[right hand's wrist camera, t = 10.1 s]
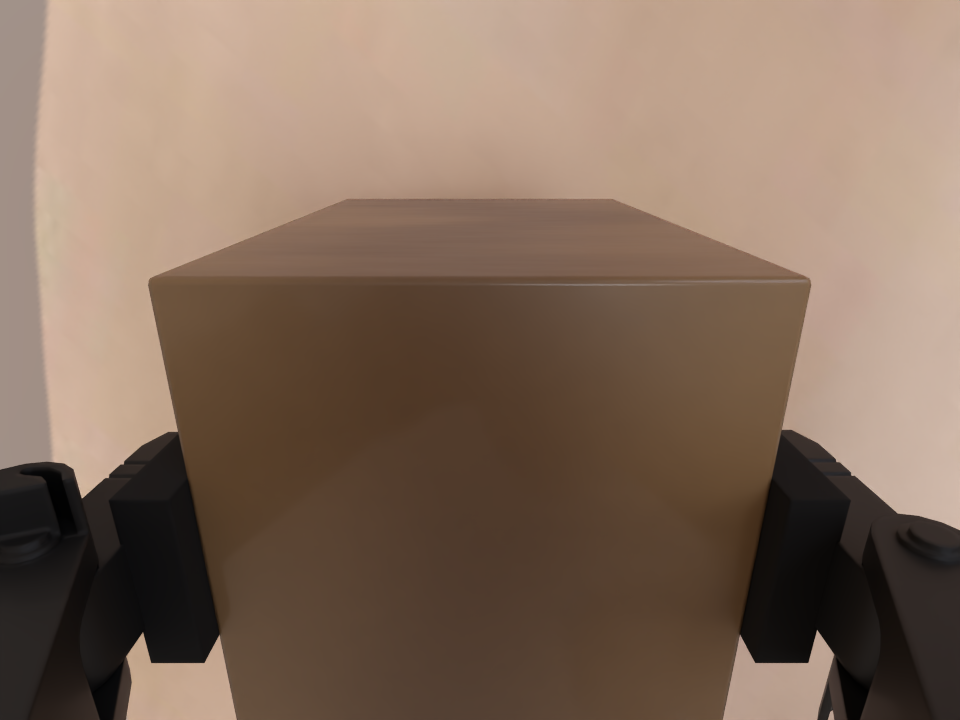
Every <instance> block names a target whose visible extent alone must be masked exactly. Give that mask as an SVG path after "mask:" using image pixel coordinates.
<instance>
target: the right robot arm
mask: <svg viewBox="0 0 960 720" xmlns="http://www.w3.org/2000/svg"><path fill="white" fill-rule="evenodd" d="M817 630H818V631H819V633H820V634H821V636H822V637H823V639H824V640H825V642H826V643H827V644H828V646H829V647H830V649H831V650H832V652H833V653H834V658H833V661H832V665H831V668H830V672H829V675H828V679H827V682H826V686H825V689H824V693H823V697H822V700H821V704H820V707H819V712H818V719H817V720H828V717H829V714H830V712H831V711H832V710H833V713H834V719H835V720H960V530H958V529H956V528H953V527H951V526H949V525H946V524H944V523H942V522H938V521H935V520H931V519H927V518H924V517H920V516H914V515H905V514H897V513H896V512H895V511H894V510H893V509H892V508H891V507H889V506H888V505H887V504H886V503H885V502H884V501H883V500H882V499H880V498H879V497H878V496H877V495H876V494H875V493H874V492H872V491H871V490H870V489H869V488H868V487H867V486H866V485H865V484H863V483H862V482H861V481H860V480H859V479H858V478H857V477H855V476H851V472H850V471H849V470H847V469H846V468H845V467H844V466H843V465H842V464H841V463H840V462H836V459H835V458H834V457H833V456H832V455H830V454H829V453H828V452H827V451H826V450H825V449H824V448H823V447H821V446H820V445H819V444H818V443H816V442H814V441H812V440H810V439H808V438H806V437H804V436H802V435H800V434H798V433H796V432H794V431H793V430H781V435H780V440H779V445H778V450H777V455H776V460H775V465H774V469H773V474H772V479H771V484H770V489H769V494H768V499H767V504H766V509H765V514H764V519H763V523H762V528H761V533H760V538H759V543H758V548H757V553H756V558H755V563H754V568H753V573H752V578H751V582H750V587H749V592H748V597H747V602H746V607H745V612H744V617H743V622H742V627H741V632H740V635H741V637H742V639H743V641H744V643H745V645H746V646H747V648H748V650H749V652H750V654H751V656H752V658H753V660H754V661H755V663H808V662H809V658H810V654H811V651H812V647H813V643H814V639H815V635H816V632H817ZM142 633H144V637H145V641H146V645H147V649H148V652H149V656H150V660H151V663H205V661H206V659H207V657H208V655H209V653H210V651H211V649H212V648H213V646H214V644H215V642H216V640H217V638H218V636H219V629H218V624H217V619H216V614H215V610H214V605H213V600H212V595H211V590H210V585H209V580H208V575H207V570H206V565H205V561H204V556H203V551H202V546H201V541H200V536H199V531H198V526H197V521H196V516H195V512H194V507H193V502H192V497H191V492H190V487H189V482H188V477H187V472H186V467H185V463H184V458H183V453H182V448H181V443H180V438H179V433H178V432H168V433H166V434H164V435H162V436H160V437H158V438H156V439H154V440H152V441H150V442H148V443H146V444H144V445H142V446H141V447H140V448H139V449H138V450H137V451H135V452H134V453H133V454H132V455H131V456H130V457H129V458H128V459H126V460H125V461H124V465H120V466H119V467H117V468H116V469H115V470H114V471H113V472H112V473H111V474H110V475H109V478H105V479H104V480H103V481H102V482H101V483H99V484H98V485H97V486H96V487H95V488H94V489H93V490H91V491H90V492H89V493H88V494H87V495H86V496H85V497H84V498H81V495H80V491H79V488H78V484H77V480H76V477H75V473H74V470H73V469H72V468H70V467H69V466H67V465H65V464H63V463H54V462H40V463H29V464H23V465H18V466H14V467H10V468H6V469H1V470H0V720H126V715H127V709H128V702H129V696H130V690H131V683H132V681H131V674H130V668H129V665H128V661H127V658H126V656H127V654H128V653H129V651H130V650H131V648H132V647H133V646H134V644H135V643H136V641H137V640H138V638H139V637H140V635H141V634H142Z"/></svg>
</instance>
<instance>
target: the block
mask: <svg viewBox="0 0 960 720" xmlns="http://www.w3.org/2000/svg"><path fill="white" fill-rule="evenodd" d="M148 286H149V291H150V296H151V301H152V306H153V311H154V316H155V320H156V325H157V330H158V335H159V340H160V345H161V350H162V355H163V360H164V365H165V369H166V374H167V379H168V384H169V389H170V394H171V399H172V404H173V409H174V414H175V418H176V423H177V428H178V433H179V438H180V443H181V448H182V453H183V458H184V463H185V467H186V472H187V477H188V482H189V487H190V492H191V497H192V502H193V507H194V512H195V516H196V521H197V526H198V531H199V536H200V541H201V546H202V551H203V556H204V561H205V565H206V570H207V575H208V580H209V585H210V590H211V595H212V600H213V605H214V610H215V614H216V619H217V624H218V629H219V634H220V639H221V644H222V649H223V654H224V659H225V663H226V668H227V673H228V678H229V683H230V688H231V693H232V698H233V703H234V708H235V712H236V717H237V720H723V715H724V710H725V705H726V700H727V695H728V691H729V686H730V681H731V676H732V671H733V666H734V661H735V656H736V651H737V646H738V641H739V636H740V632H741V627H742V622H743V617H744V612H745V607H746V602H747V597H748V592H749V587H750V582H751V578H752V573H753V568H754V563H755V558H756V553H757V548H758V543H759V538H760V533H761V528H762V523H763V519H764V514H765V509H766V504H767V499H768V494H769V489H770V484H771V479H772V474H773V469H774V465H775V460H776V455H777V450H778V445H779V440H780V435H781V430H782V425H783V420H784V415H785V410H786V406H787V401H788V396H789V391H790V386H791V381H792V376H793V371H794V366H795V361H796V356H797V352H798V347H799V342H800V337H801V332H802V327H803V322H804V317H805V312H806V307H807V302H808V298H809V293H810V288H811V282H810V279H809V278H807V277H805V276H803V275H800V274H798V273H795V272H793V271H790V270H788V269H785V268H783V267H780V266H778V265H775V264H773V263H770V262H768V261H765V260H763V259H760V258H758V257H755V256H753V255H750V254H748V253H745V252H743V251H740V250H738V249H735V248H733V247H730V246H728V245H725V244H723V243H720V242H718V241H715V240H713V239H710V238H708V237H705V236H703V235H700V234H698V233H695V232H693V231H691V230H688V229H686V228H683V227H681V226H678V225H676V224H673V223H671V222H668V221H666V220H663V219H661V218H658V217H656V216H653V215H651V214H648V213H646V212H643V211H641V210H638V209H636V208H633V207H631V206H628V205H626V204H623V203H621V202H618V201H616V200H613V199H347V200H344V201H342V202H339V203H337V204H334V205H332V206H329V207H327V208H324V209H322V210H319V211H317V212H314V213H312V214H309V215H307V216H304V217H302V218H299V219H297V220H294V221H292V222H289V223H287V224H284V225H282V226H279V227H277V228H274V229H272V230H269V231H267V232H264V233H262V234H259V235H257V236H254V237H252V238H249V239H247V240H244V241H242V242H239V243H237V244H234V245H232V246H229V247H227V248H224V249H222V250H219V251H217V252H214V253H212V254H209V255H207V256H204V257H202V258H199V259H197V260H194V261H192V262H189V263H187V264H184V265H182V266H179V267H177V268H174V269H172V270H169V271H167V272H164V273H162V274H159V275H157V276H154V277H152V278H150V280H149V284H148Z"/></svg>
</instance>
